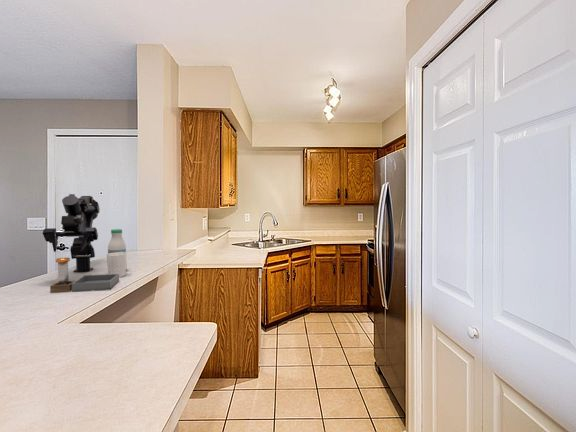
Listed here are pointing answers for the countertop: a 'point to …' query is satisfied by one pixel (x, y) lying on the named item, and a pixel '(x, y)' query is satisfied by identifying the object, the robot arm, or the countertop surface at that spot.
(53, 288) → the socket block
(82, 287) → the tray
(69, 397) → the countertop surface
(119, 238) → the milk bottle
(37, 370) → the countertop surface
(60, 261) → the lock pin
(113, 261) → the white cup
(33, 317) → the countertop surface
